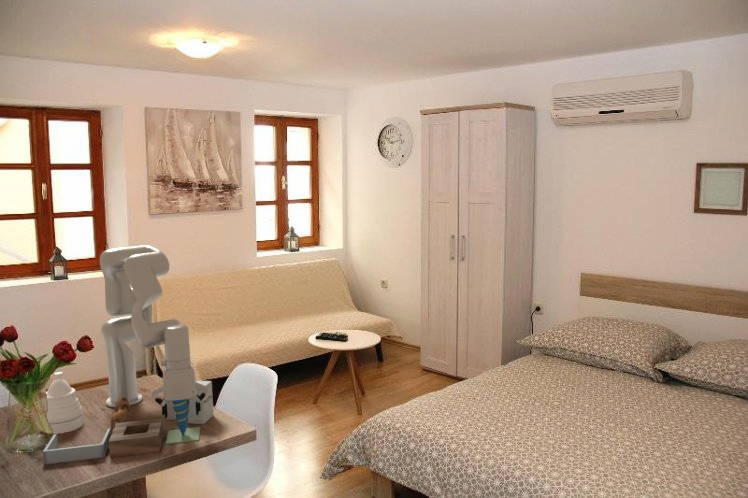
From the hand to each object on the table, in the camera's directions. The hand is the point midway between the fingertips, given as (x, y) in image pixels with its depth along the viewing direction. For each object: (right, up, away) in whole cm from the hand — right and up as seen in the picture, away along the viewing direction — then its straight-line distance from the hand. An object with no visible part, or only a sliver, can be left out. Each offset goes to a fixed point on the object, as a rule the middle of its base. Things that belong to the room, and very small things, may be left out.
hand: (181, 415), depth 200 cm
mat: (0, -7, +1) cm, 7 cm away
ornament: (0, -7, +1) cm, 7 cm away
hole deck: (-12, -8, -5) cm, 15 cm away
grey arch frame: (-29, -9, -8) cm, 31 cm away
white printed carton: (-8, -5, +18) cm, 20 cm away
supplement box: (+2, -5, +14) cm, 15 cm away
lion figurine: (-23, -7, +9) cm, 26 cm away
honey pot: (-44, -7, +12) cm, 46 cm away
